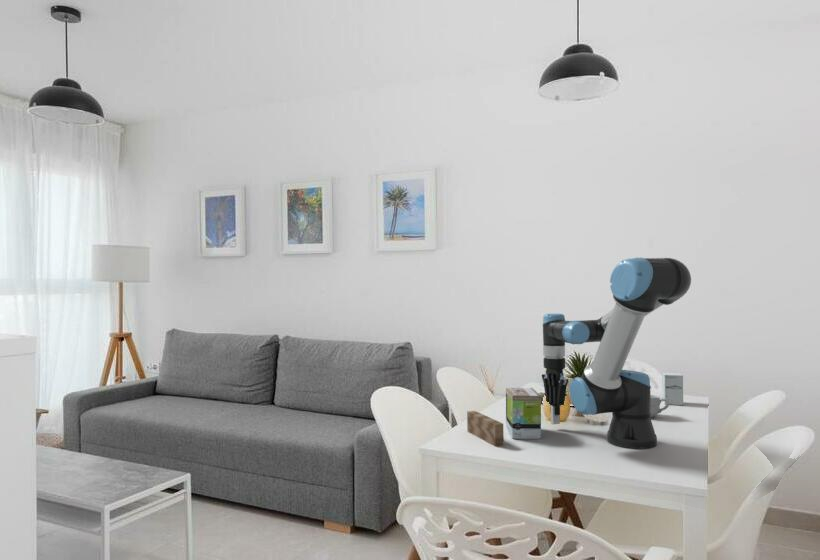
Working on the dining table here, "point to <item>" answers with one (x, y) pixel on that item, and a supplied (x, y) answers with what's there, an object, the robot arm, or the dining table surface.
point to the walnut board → (485, 428)
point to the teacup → (657, 405)
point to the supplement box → (672, 388)
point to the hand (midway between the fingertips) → (555, 423)
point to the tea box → (523, 413)
